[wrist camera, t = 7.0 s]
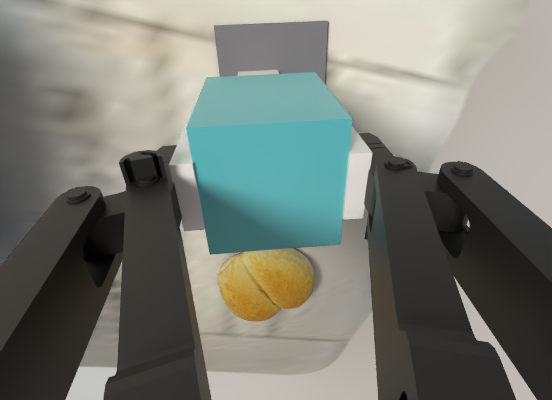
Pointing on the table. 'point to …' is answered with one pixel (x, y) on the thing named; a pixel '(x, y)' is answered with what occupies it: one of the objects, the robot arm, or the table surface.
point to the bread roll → (265, 282)
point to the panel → (272, 47)
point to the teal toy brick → (270, 161)
